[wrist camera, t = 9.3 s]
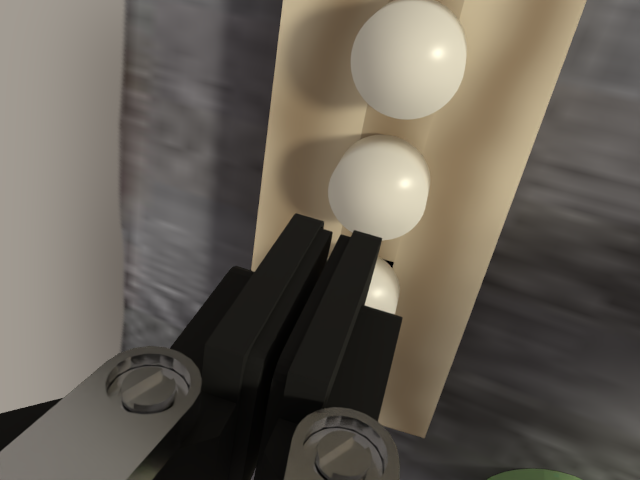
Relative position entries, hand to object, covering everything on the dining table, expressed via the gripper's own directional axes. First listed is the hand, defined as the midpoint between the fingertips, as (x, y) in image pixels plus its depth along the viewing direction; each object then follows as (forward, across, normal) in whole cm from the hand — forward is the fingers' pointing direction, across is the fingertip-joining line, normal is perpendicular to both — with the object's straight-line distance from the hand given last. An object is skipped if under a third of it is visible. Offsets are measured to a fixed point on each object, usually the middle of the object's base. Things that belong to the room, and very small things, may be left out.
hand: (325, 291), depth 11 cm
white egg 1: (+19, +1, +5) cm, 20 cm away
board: (+20, +1, +8) cm, 21 cm away
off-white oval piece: (+19, +1, -1) cm, 19 cm away
